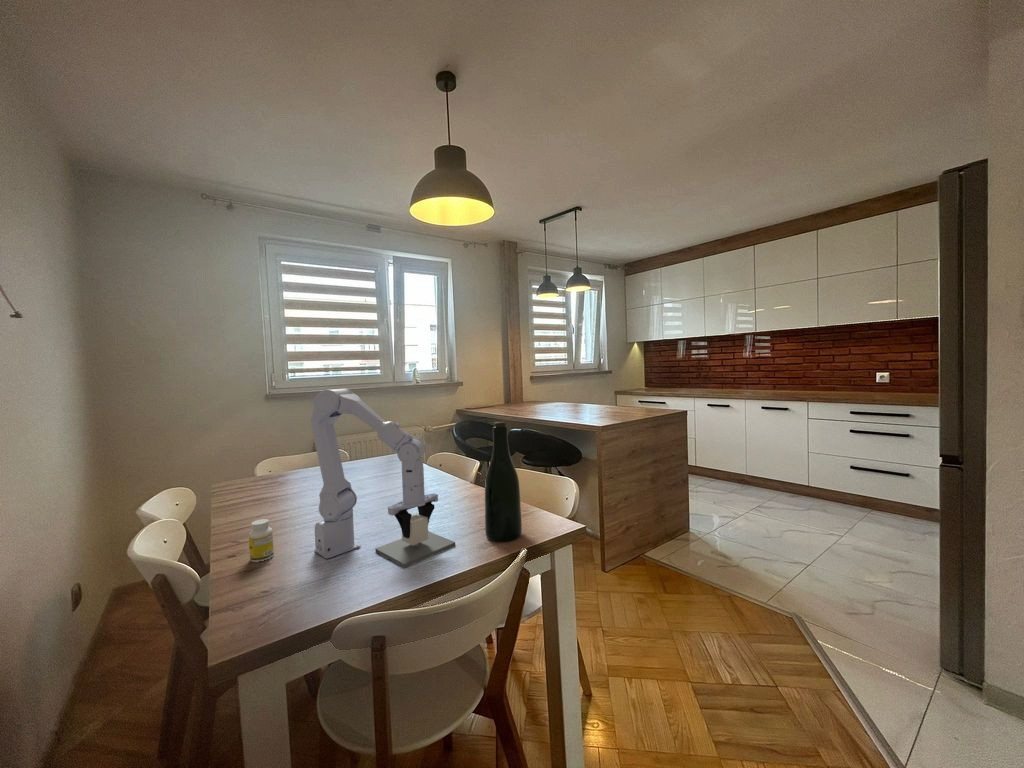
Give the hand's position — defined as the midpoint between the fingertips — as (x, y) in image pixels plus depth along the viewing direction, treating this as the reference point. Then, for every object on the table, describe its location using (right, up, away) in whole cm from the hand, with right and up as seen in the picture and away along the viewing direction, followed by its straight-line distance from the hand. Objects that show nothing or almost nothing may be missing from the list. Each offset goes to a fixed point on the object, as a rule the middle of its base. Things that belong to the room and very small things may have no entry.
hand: (415, 533), depth 109 cm
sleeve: (0, -2, 0) cm, 2 cm away
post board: (0, -4, 0) cm, 4 cm away
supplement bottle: (-40, -6, -2) cm, 41 cm away
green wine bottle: (+24, -3, +7) cm, 25 cm away
